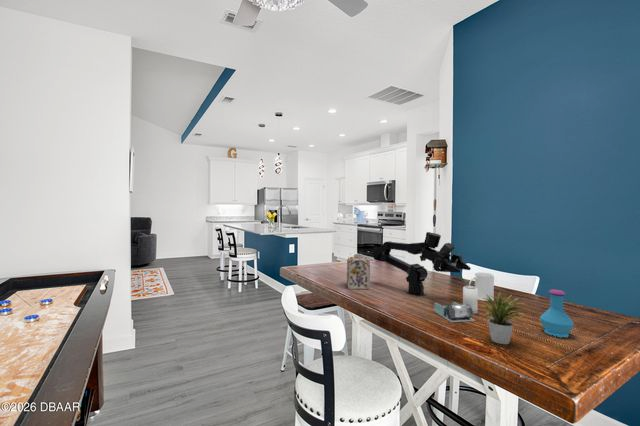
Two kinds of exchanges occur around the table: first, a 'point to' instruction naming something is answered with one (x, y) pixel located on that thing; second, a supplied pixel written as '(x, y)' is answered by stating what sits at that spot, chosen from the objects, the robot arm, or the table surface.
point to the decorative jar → (358, 272)
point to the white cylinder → (471, 297)
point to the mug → (484, 285)
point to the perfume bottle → (556, 316)
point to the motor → (454, 312)
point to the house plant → (501, 319)
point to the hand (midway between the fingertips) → (465, 270)
